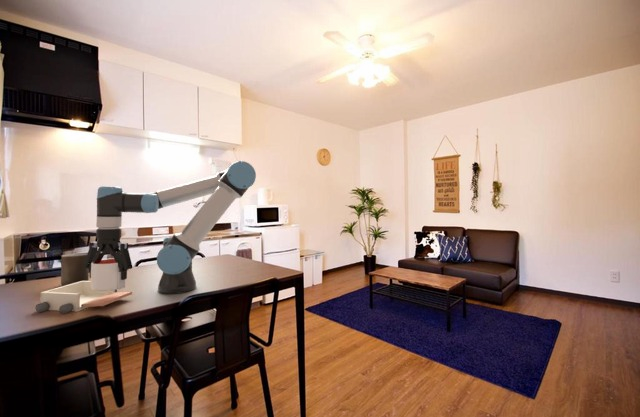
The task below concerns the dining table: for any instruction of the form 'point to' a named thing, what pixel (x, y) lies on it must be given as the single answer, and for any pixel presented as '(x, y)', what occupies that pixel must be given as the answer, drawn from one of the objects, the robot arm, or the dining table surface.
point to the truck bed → (69, 297)
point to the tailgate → (106, 299)
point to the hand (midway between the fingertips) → (107, 287)
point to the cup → (104, 275)
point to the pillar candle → (73, 268)
